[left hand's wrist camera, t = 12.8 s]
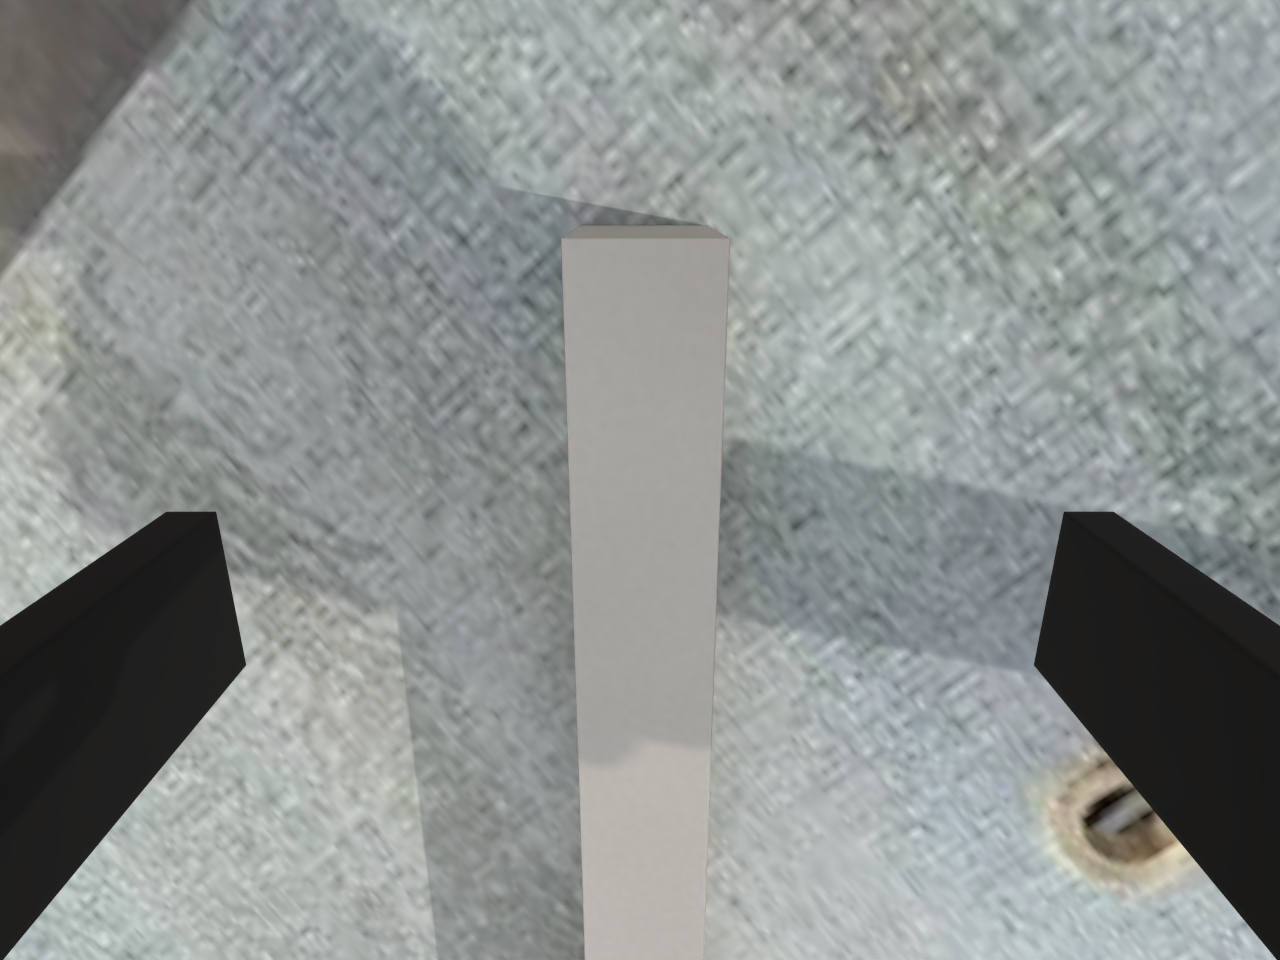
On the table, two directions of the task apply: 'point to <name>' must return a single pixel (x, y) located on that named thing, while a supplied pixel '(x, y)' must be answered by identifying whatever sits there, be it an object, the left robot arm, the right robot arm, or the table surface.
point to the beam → (644, 571)
